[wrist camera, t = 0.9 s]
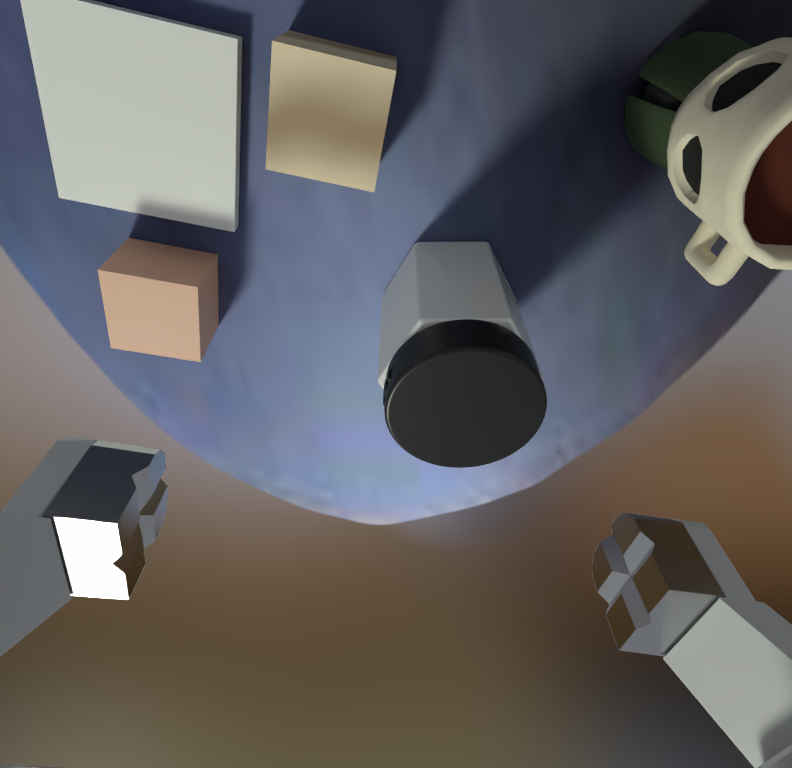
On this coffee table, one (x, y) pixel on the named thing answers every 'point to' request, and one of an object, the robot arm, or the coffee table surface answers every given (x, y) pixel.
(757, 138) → the character mug
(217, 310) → the terracotta block
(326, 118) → the maple block
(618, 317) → the coffee table surface
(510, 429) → the jar
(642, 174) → the coffee table surface
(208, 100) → the base plate
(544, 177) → the coffee table surface
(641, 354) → the coffee table surface
